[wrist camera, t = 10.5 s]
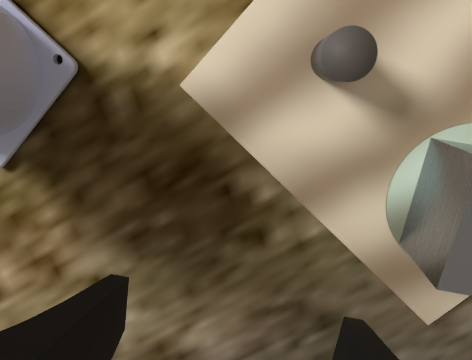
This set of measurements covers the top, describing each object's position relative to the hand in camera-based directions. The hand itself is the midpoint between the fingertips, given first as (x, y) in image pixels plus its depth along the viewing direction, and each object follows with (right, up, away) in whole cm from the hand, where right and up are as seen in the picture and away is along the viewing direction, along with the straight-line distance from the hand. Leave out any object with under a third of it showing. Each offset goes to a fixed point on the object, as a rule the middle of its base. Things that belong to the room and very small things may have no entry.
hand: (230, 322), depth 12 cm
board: (+8, +7, +7) cm, 13 cm away
